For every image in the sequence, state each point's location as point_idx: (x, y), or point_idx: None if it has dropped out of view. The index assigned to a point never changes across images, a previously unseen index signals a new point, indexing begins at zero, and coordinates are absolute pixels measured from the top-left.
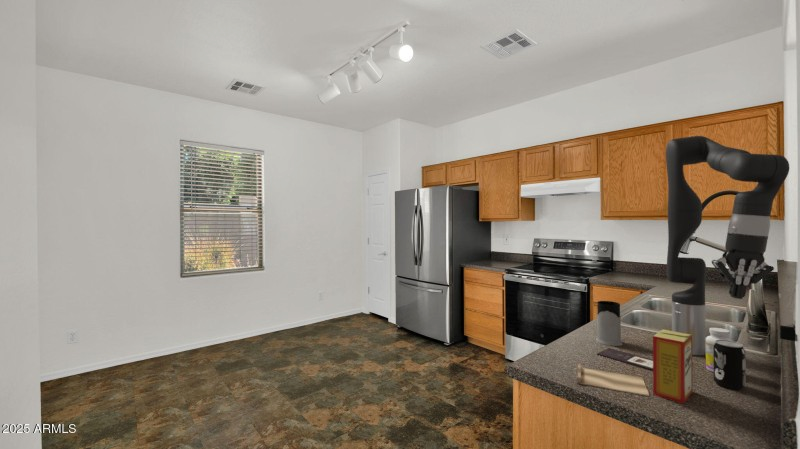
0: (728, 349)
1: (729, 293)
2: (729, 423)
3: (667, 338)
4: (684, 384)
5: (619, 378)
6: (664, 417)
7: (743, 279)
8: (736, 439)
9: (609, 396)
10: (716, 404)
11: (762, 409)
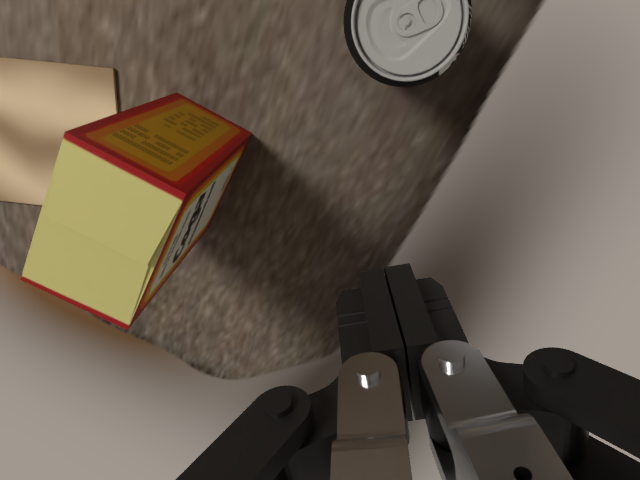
0: (381, 78)
1: (339, 303)
2: (282, 302)
3: (73, 296)
4: (192, 244)
5: (43, 110)
6: (148, 317)
7: (442, 470)
8: (269, 363)
9: (29, 248)
10: (291, 205)
11: (403, 196)
